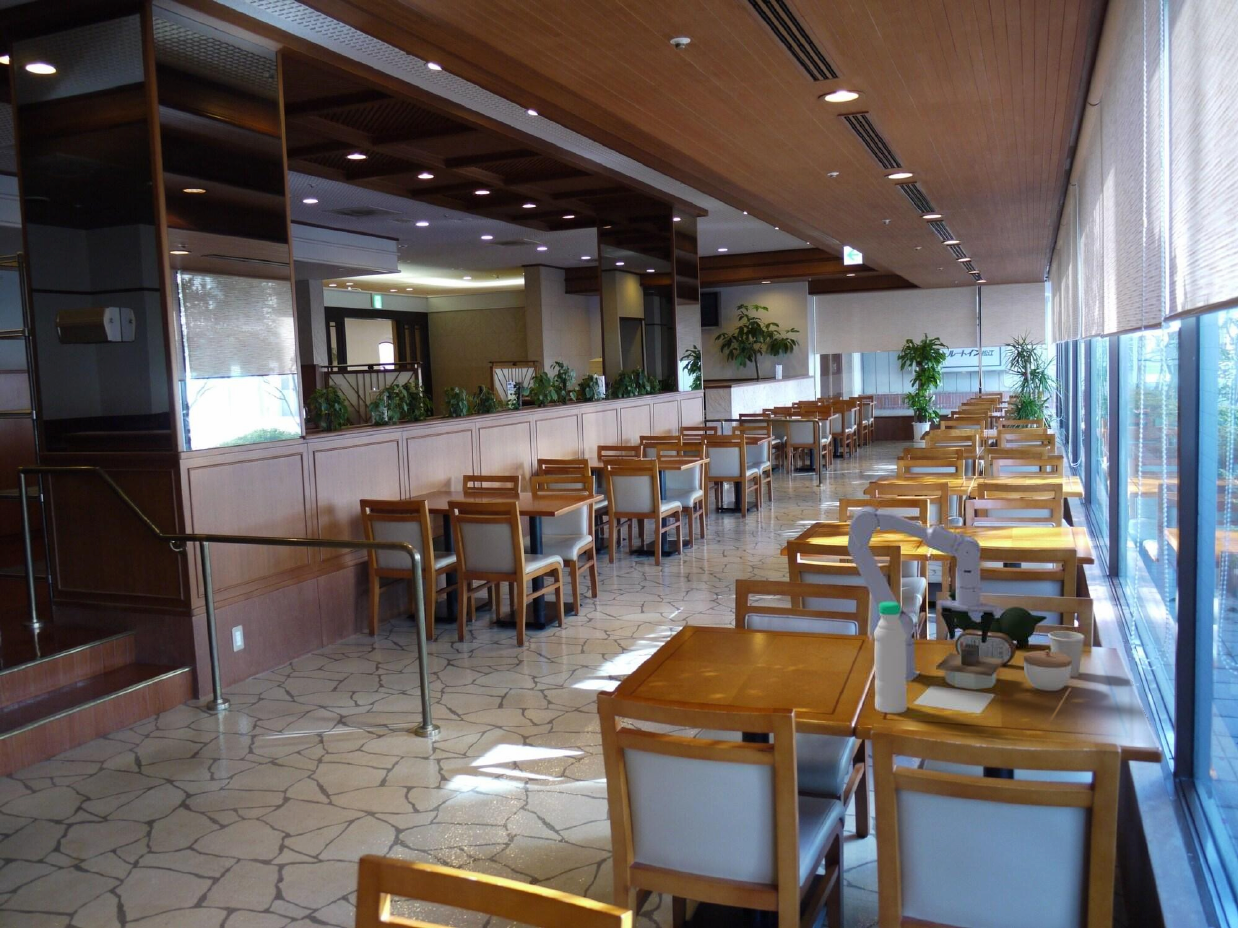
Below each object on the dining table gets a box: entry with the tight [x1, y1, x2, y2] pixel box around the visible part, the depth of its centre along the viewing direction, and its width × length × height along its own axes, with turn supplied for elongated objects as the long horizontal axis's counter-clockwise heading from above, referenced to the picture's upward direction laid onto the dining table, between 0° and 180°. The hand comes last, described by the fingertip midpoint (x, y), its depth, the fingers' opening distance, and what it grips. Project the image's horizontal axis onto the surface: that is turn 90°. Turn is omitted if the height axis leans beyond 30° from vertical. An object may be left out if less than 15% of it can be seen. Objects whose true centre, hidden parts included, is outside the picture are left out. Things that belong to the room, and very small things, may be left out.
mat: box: [912, 685, 996, 715], centre depth 232 cm, size 15×15×1 cm
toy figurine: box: [948, 587, 1048, 648], centre depth 276 cm, size 9×19×25 cm
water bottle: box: [873, 602, 908, 714], centre depth 226 cm, size 7×7×25 cm
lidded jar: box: [1022, 649, 1072, 692], centre depth 238 cm, size 11×11×9 cm
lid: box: [935, 644, 1004, 676], centre depth 244 cm, size 13×13×5 cm
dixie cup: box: [1047, 630, 1085, 678], centre depth 248 cm, size 8×8×10 cm
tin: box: [954, 630, 1017, 666], centre depth 260 cm, size 15×3×8 cm, turn 58°
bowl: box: [944, 670, 997, 690], centre depth 244 cm, size 11×11×4 cm
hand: (968, 640), depth 245 cm, fingers open, 7 cm apart
